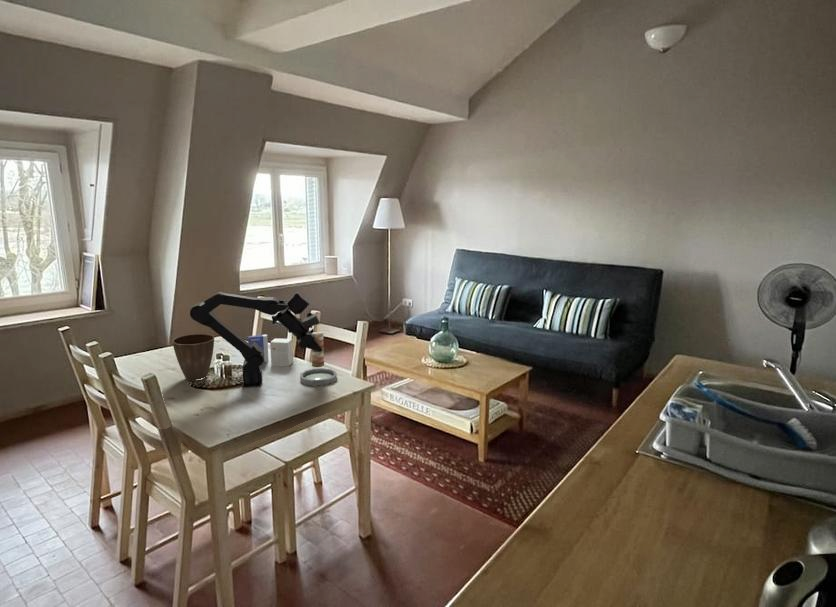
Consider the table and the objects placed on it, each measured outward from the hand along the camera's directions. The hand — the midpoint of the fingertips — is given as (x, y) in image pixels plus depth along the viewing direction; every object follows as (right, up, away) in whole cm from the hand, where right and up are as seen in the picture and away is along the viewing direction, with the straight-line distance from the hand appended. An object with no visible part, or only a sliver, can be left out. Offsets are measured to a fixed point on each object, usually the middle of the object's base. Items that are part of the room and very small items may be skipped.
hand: (321, 349), depth 192 cm
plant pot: (-49, -12, +1) cm, 51 cm away
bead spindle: (-1, -6, +1) cm, 7 cm away
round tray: (-2, -12, +2) cm, 13 cm away
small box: (-21, -8, +19) cm, 29 cm away
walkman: (-31, -8, +21) cm, 38 cm away
